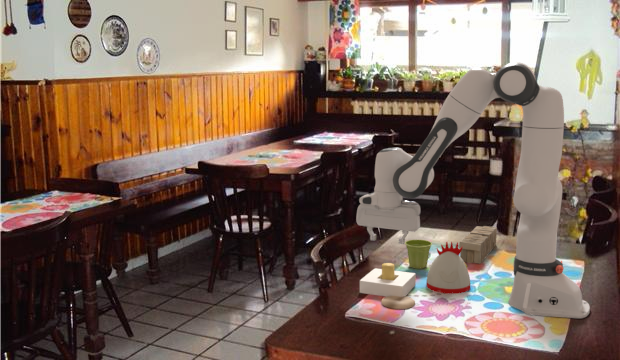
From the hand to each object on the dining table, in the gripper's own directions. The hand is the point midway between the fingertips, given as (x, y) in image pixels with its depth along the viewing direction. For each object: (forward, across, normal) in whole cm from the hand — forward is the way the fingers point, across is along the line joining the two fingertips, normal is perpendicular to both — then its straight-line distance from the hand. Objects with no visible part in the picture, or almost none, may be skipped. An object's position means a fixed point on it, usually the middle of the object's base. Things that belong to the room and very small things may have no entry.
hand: (387, 241), depth 206 cm
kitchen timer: (+16, -18, -10) cm, 26 cm away
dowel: (+15, -1, 0) cm, 16 cm away
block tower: (+16, -19, -52) cm, 58 cm away
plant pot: (+16, -3, -27) cm, 31 cm away
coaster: (+15, -8, +11) cm, 20 cm away
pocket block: (+15, -1, 0) cm, 16 cm away
